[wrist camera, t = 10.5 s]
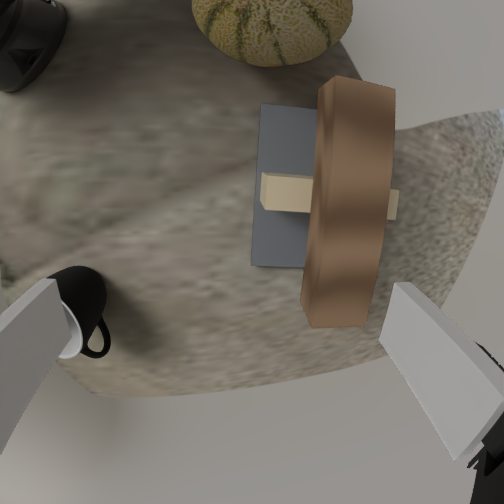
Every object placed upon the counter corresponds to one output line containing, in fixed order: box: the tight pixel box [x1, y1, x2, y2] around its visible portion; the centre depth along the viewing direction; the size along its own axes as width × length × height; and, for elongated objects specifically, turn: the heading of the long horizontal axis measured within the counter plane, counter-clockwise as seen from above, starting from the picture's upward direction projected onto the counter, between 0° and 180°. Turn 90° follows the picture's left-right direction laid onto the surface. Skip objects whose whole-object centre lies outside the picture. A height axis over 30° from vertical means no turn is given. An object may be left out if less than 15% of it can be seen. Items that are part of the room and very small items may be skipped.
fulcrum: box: [251, 104, 400, 268], centre depth 29 cm, size 18×14×7 cm
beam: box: [300, 75, 395, 328], centre depth 23 cm, size 20×5×5 cm, turn 177°
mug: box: [46, 266, 111, 359], centre depth 30 cm, size 12×9×10 cm
